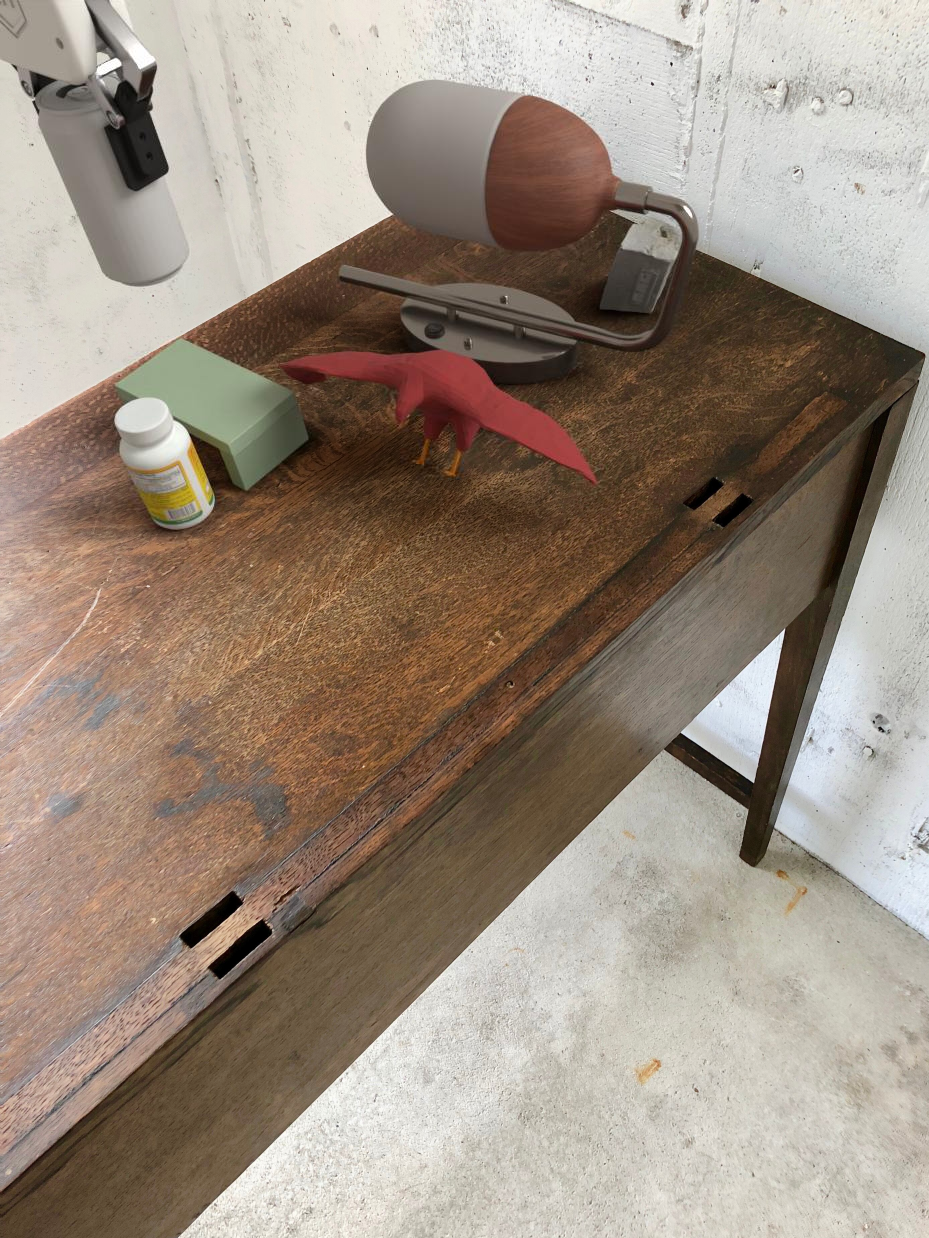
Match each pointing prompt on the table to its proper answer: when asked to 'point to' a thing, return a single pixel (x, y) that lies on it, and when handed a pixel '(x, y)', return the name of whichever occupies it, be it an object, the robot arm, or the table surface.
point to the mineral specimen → (641, 266)
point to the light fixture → (503, 220)
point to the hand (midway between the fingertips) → (113, 165)
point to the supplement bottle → (163, 464)
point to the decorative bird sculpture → (448, 400)
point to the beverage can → (110, 190)
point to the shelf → (222, 407)
